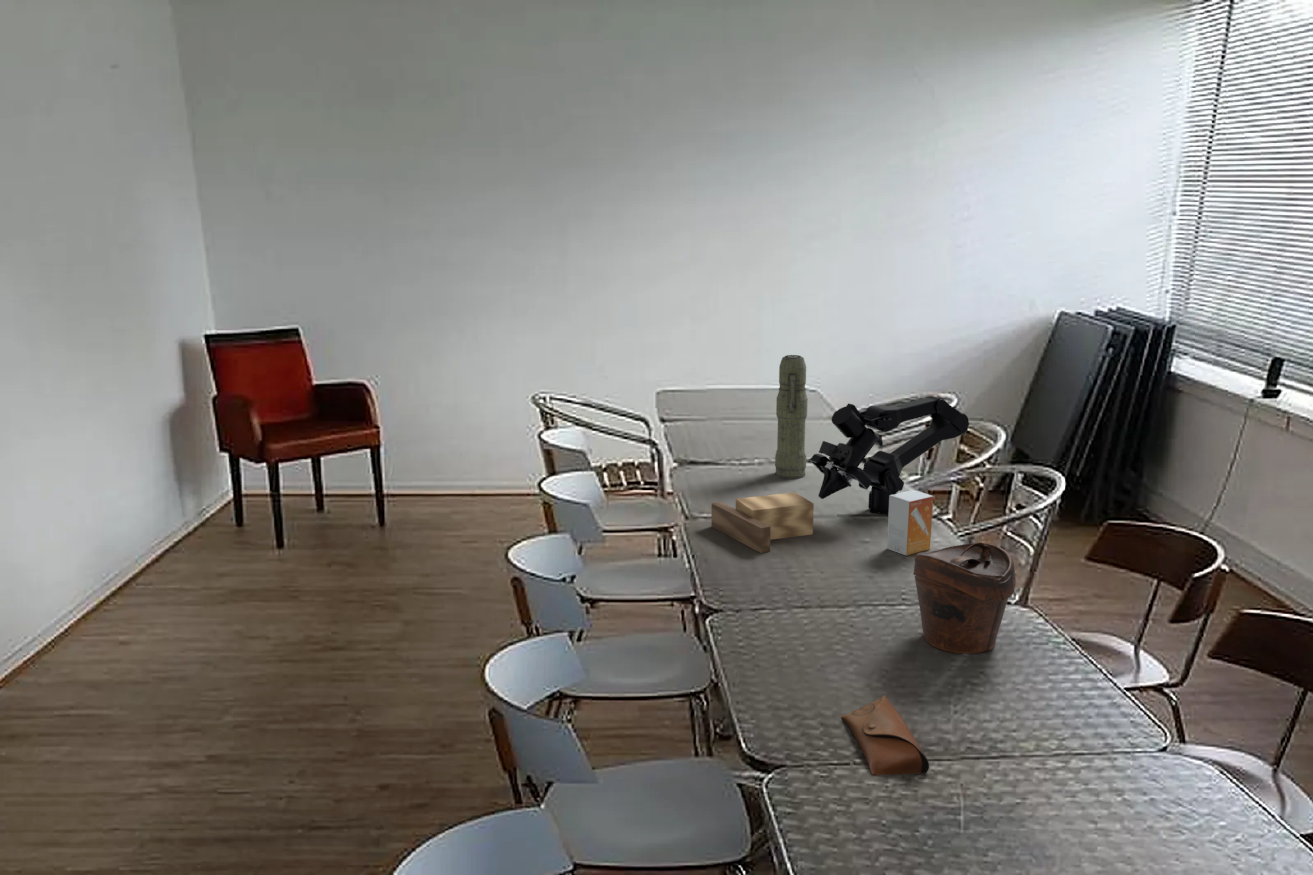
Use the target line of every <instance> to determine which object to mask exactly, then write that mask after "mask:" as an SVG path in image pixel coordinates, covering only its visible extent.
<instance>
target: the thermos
mask: <svg viewBox="0 0 1313 875" xmlns="http://www.w3.org/2000/svg"><path fill="white" fill-rule="evenodd" d="M778 370H779V371H778V372H779V373H778V375H779V376H778V383H779V388H778V393H777V395H776V407H775V408H776V410H775V414H776V418H777V439H776V440H777V441H776V442H777V447H776V452H775V457H774V467H775V476H776V477H778V478H781V479H786V480H787V479H788V480H795V479H796V480H797V479H801V478H804V477H805V476H806V467H807V454H806V452H805V451H806V450H805V445H806V440H805V439H806V419H807V417H808V395H807V391H806V390H807V388H806V383H807V365H806V361H805V358H804V357H803V356H801V355H797V354H789V355H788V354H787V355H784V356H782V358H781V360H780V363H779V369H778Z"/></svg>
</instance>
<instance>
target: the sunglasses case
mask: <svg viewBox="0 0 1313 875" xmlns="http://www.w3.org/2000/svg"><path fill="white" fill-rule="evenodd" d="M840 717H841V719H842V721H843V722H844V723H845V724H846V725H847V727H848V728H849V730H850V731H851V733H852V735H853V737H854V739H855V740H856V742H857V744H858V746H859V748H860V749H861V752H862V754H863V756H864V758H865V759H866V762H867V764H868V767H869V772H870V774H871V776H877V777H879V776H884V775H885V776H887V775H888V776H889V775H891V776H892V775H907V774H908V775H909V774H910V775H911V774H924V775H926V774H927V773H928V772H929V770H930V763H929V759H928V758H927V756H926V755H925V753H924V752H923V749H922V748H921V746H920V744H919V743H918V740H917V739H916V737H915V736H914V734H913V733H912V731H911V730H910V728H909V727H908V725H907V724H906V722H905V721H904V719H903V718H902V716H901V714H900V713H899V711H898V710H897V709H896V708H895V706H894V705H893V703H891V701H890V699H889V697H888V696H886V694H882V696H881V697H880V698H878V699H876V700H874V701H872V702H870V703H868V704H866V705H863V706H861V707H859V708H857V709H855V710H853V711H851V712H849V713H846V714H844V715H843V714H842V715H841V716H840Z"/></svg>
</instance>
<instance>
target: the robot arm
mask: <svg viewBox="0 0 1313 875" xmlns="http://www.w3.org/2000/svg"><path fill="white" fill-rule="evenodd" d="M927 416H929V417H930V418H931V419H932V420H931V422H930V424H929V426H928V427H927V428H925V429H924V430H922V431H921V432H919V433H918V434H917V435H915V436H914V437H912V438H911V439H908V441H906V442H905V443H904V444H903V443H902V444H901V445H899V447H897V448H896V449H895V450H893V451H892V452H886V451H883V450H879V451H877V452H876V453H874V454H873V455H872V456H869V457H867V458H865V457H866V456H867V455H868V454H869V452H870V451H871V449H872V448H874V446H875V445H877V446H879V447H883V446H884V443H883V438H882V437H883V435H882V434H879V433H877V432H875V431H874V430H876V431H879V432H883V433H887V432H891V431H892V430H894V429H897V428H898V427H899V426H900V424H901V423H903V422H904V423H905V422H907V421H912V420H915V419H919V418H920V419H921V418H922V417H923V418H924V417H927ZM969 422H970V421H969V417H968V416H967V415H966V414H965V413H962V412H960V410H958V409H957V408H955V407H953V406H952V405H950V403H948V402H947V401H946V399H944V398H941V397H938V396H934V395H929V396H926V397H924V398H920V399H916V400H911V401H909V402H904V403H899V404H897V405H870V406H868V407H867V408H866V410H863V411H859V410H858V408H857V406H855V404H852V403H847V405H846V406H843V407H841V408H838V409H837V410H836V411H834V413H833V414H832V416H831V423H832V424H833V425H834V426H835V428H837V430H838V431H839V432H840V433H841V434H842V435H843V436H844V437H845V438H846V439H848V441H847V442H846V443H841V442H839V443H838V444H833V443H831V442H828V441H825V440H822V443H821V445H820V447H819V451H818V453H813V455H812V457H811V458H810V459H809V462H810V463H811V464H812V465H814V467H815V468H817V470H818V471H819V472H820V473H821V474H823V479H822V482H821V483H822V484H821V485H820V489H819V493H818V497H819V499H822V500H823V499H825V498H828V497H829V496H831V495H833V494H835V493H837V492H839V491H841V490H844V489H845V488H846V489H847V488H848V487H849V488H851V486H852V484H851V483H852V482H853V480H855V481H857V482H858V487H859V488H861V489H863V490H866V491H868V489H869V488H870V486H871V490H870V491H869V492H868V509H869V513H870V514H878V515H879V514H882V515H888V513H889V496H890V495H894V494H898V493H899V492H902V491H903V488H904V486H905V485H904V484H905V482H904V480H903V479H902V478H901V477H900V476H901V474H902V471H903V469H904V468H905V467H906V466H908V465H909V464H910V463H912V462H913V461H915V460H916V459H918V458H919V457H920V456H922V455H923V454H925V453H926V452H928V451H929V450H931V449H932V448H934V447H935V446H936V445H938V444H939V443H941V442H942V441H946V440H951V439H956V438H958V437H960V436H963V435H964V434H966V432H967V431H968V430H969V425H970V423H969ZM823 454H824V455H823ZM867 459H868V460H867ZM861 463H862V464H863V468H861V467H859V466H860V464H861Z"/></svg>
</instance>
